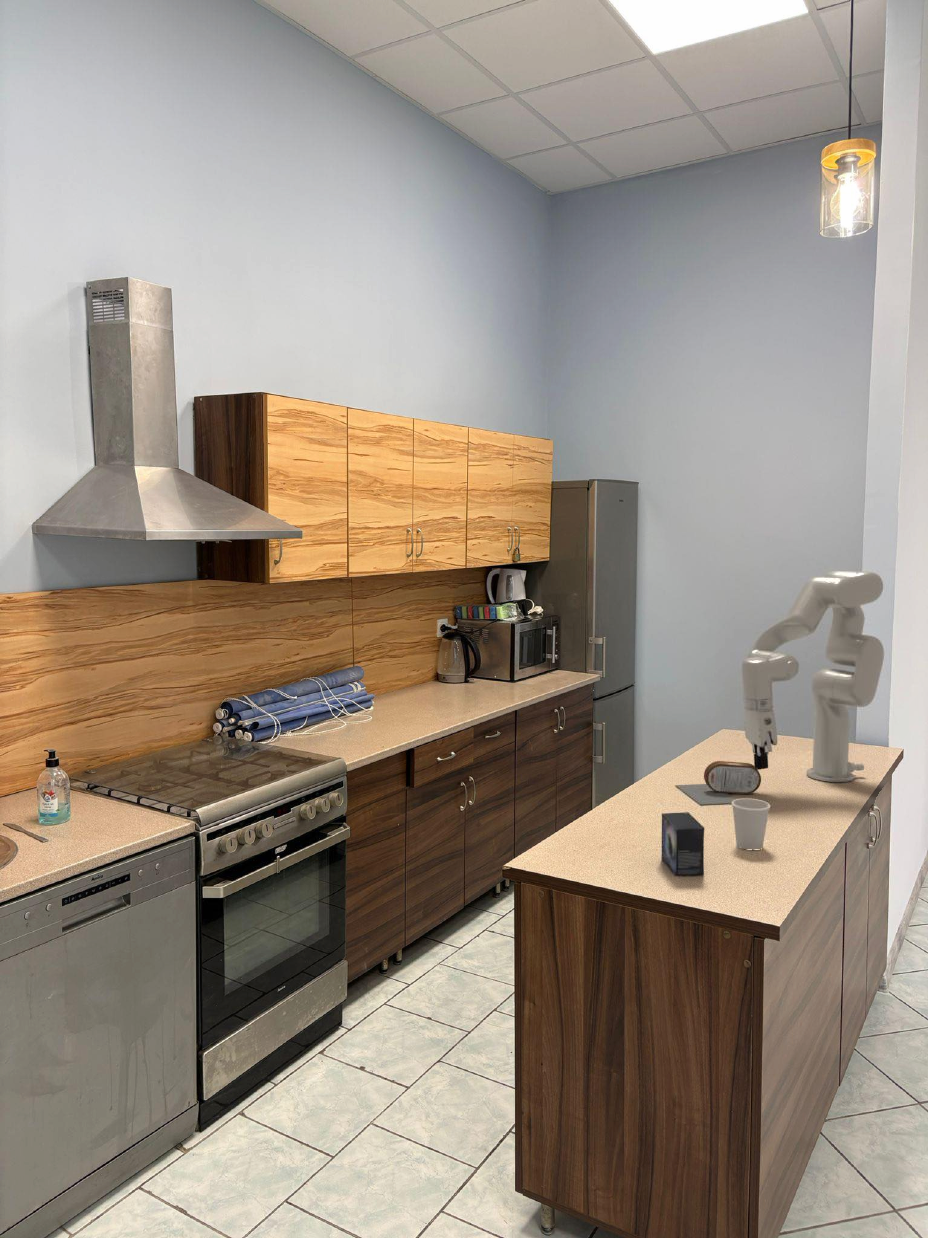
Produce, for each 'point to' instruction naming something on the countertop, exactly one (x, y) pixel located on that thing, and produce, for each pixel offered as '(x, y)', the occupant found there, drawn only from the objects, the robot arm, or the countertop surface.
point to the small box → (683, 844)
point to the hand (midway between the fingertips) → (761, 768)
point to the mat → (705, 794)
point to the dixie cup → (750, 822)
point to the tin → (732, 777)
